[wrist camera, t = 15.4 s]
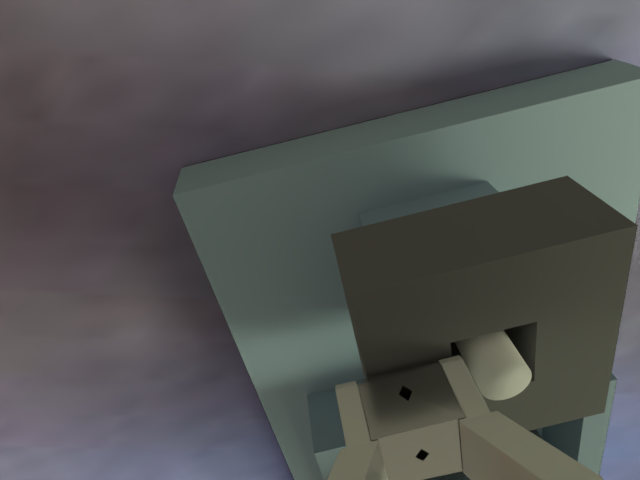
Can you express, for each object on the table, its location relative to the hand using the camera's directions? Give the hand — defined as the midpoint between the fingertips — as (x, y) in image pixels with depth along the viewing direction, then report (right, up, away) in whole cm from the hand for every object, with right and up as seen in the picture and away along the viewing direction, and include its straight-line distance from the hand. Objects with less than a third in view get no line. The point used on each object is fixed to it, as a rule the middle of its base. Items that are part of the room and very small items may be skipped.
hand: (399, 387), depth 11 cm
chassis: (+3, -1, +9) cm, 9 cm away
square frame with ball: (+2, +2, +2) cm, 3 cm away
